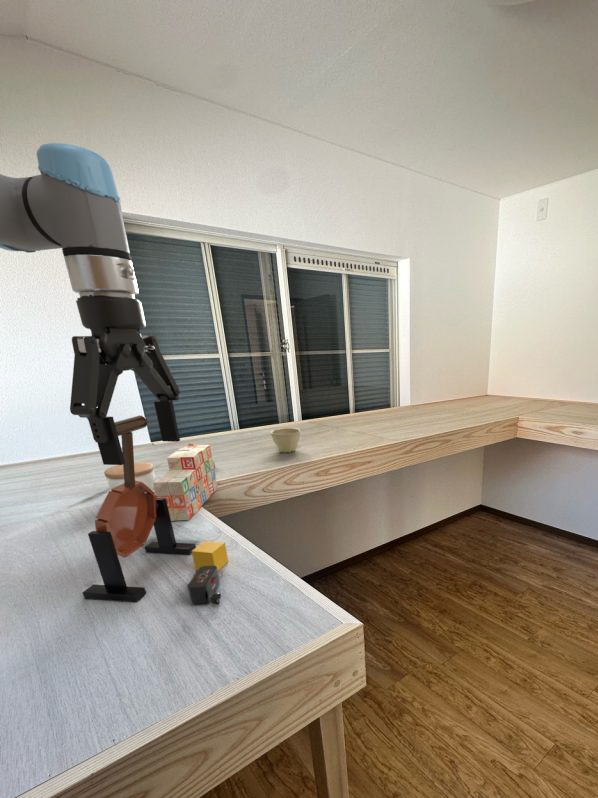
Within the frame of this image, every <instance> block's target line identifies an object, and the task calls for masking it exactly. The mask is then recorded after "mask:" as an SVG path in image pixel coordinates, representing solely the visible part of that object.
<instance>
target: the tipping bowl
mask: <svg viewBox="0 0 598 798" xmlns="http://www.w3.org/2000/svg"><path fill="white" fill-rule="evenodd" d="M114 423H115V426H116V430H117V434H118V437H121V449H122V453H123V457H124V460H125V464H123V469H124V483H123V484H121V485H119V486H117V487H114V488H112V489H111V488H110V490H109V491H108V492H107V494H106V497H105V498H104V500H103V502H102V504H101V506H100V509H99V510H98V512H97V514H96V516H95V520H94V526H95V531H103V532H111V535H112V538H113V542H114V545H115V548H116V552H117V555H118V558H123V559H125V558H128V557H129V556H131V555H132V554H133V553H135V552H136V551H138V550H139V549H140V548H142V547H144V545H145V544H146V543H147V541H148V538H149V536H150V534H151V532H152V529H153V528H154V523H155V521H156V519H155V518H156V509H157V508H158V507H159V504H158V503H156V494H155V491H154V490H153V491H152V490H151V489H150V488H149V487H147V486H146V485H145V484H144V483H143V482H140V481H135V471H134V463H135V455H134V437H133V433H134V432H136V431H139V430H142V429H145V428H147V426H148V420H147V418H146V417H145V416H144V415H139V414H138V415H135V416H131V417H128V418H124V419H121V420H118V421H114Z"/></svg>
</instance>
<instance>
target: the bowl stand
mask: <svg viewBox="0 0 598 798" xmlns="http://www.w3.org/2000/svg"><path fill="white" fill-rule="evenodd" d="M156 503H158V504H159V507H158V508H157V509H156V518H155V519H156V521H155V523H154V525H153V529H154V532H155V536H156V540H157V541H151V542H149V543H148V544H146V545H145V546H143V547H144V551H145V553H150V554H168V555H169V554H170V555H171V554H172V555H187V556H189V555H192V550H193V549H195V548H196V547H197V545H196V543H191V542H189V543H188V542H177V541H176V536H175V532H174V527H173V524H172V521H171V519H170V514H169V510H168V506H167V502H166V498H156ZM87 536H88V539H89V542H90V545H91V548H92V551H93V554H94V557H95V560H96V564H97V567H98V569H99V572H100V575H101V579H102V581H103V584H97V583H95V584H92V585H91V586H89V587H87V588H86V589H85V590H83V591H82V592H81V593H82V596H83V599H85V600H98V601H115V602H129V603H138V602H139V601H140V600H141V599H142V598H143V597H144V596H145V595H147V591H146V588H145V587H144V586H143V587H141V586H128V585H127V582H126V579H125V575H124V571H123V568H122V565H121V562H120V559H119V558H120V557H118V555H117V552H116V548H115V545H114V542H113V538H112V535H111V532H103V531H96V530H92V531H90V532H88V533H87Z"/></svg>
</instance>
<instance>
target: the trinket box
mask: <svg viewBox="0 0 598 798" xmlns="http://www.w3.org/2000/svg"><path fill="white" fill-rule="evenodd" d="M134 471H135V481H140V482H143V483H144V484H145V485H146V486H147V487H149V488H150V489H151V490H152V491H153V492H154V486H153V482H154V481H156V476H155V475H156V474H155V467H154V465H153V464H152V463H150V462H141V461H140V462H139V461H138V462H134ZM103 473H104V477H105V479H106V481H107V484H108V486H109V488H110V490H111V489H112V488H114V487H117V486H119V485H121V484H123V483H124V469H123V465H113V466H111V467H108V468H107V469H105V470H104V472H103Z"/></svg>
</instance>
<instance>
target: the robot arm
mask: <svg viewBox="0 0 598 798" xmlns="http://www.w3.org/2000/svg"><path fill="white" fill-rule="evenodd" d="M36 159H37V164H38V165H37V169H38V171H39V172H40V174H37V175H33V176H26V177H11V176H7V175H4V174H1V173H0V249H3V250H4V251H9V252H24V253H26V254H28V253H29V254H31V253H36V252H40V251H46V250H47V251H48V250H56V249H61V251H62V256H63V258H64V263H65V266H66V270H67V275H68V278H69V283H70V286H71V289H72V291H73V292H74V293H75V294H78V295H79V297H77V298H76V299H77V300H75V302H76V306H77V310H78V313H79V317H80V321H81V325H82V326H83V327H84V328H85V329H88V330H90V333H91V335H74V336H72V337H71V343H72V349H73V353H74V357H73V368H72V369H73V371H72V379H71V380H72V382H71V393H70V405H69V411H70V413H71V414H72V415H73V416H78V417H79V418H83V419H85V418H86V419H87V421H88V424H89V428H90V432H91V434H92V438H93V440H94V442H95V443H97V447H98V450H99V453H100V457H101V460H102V463H103V466H104V465H105V466H117V465H123V464H125V460H124V457H123V453H122V444H121V442H120V438H119V436H118V434H117V430H116V426H115V423H114V422H115V419H114V416H107V415H108V412H109V410H110V405H111V402H112V399H113V395H114V392H115V389H116V385H117V383H118V378H119V376H120V375H122V374H123V373H124V372H125V371H126V372H127V371H132V372H134V373H135V374H136V376H138V378H139V379H140V380H141V381H142V382H143V384H144V385H145V386H146V388H147V389H148V390H149V391H150V392H151V394H152V395H153V397H155V398H156V401H153V404H154V408H155V413H156V417H157V422H158V427H159V431H160V435H161V441H162V442H168V443H169V442H170V443H171V442H174V443H175V442H176V443H177V442H180V441H181V438H180V433H179V428H178V423H177V419H176V411H175V406H174V401H176V402H177V401H179V399H180V393H181V391H180V388H179V386H178V384H177V382H176V379H175V378H174V376H173V374H172V372H171V370H170V368H169V366H168V364H167V362H166V360H165V358H164V356H163V354H162V352H161V350H160V346H159V342H158V339H157V338H158V337H156V335H142V334H141V330H143V329H145V328H146V326H147V324H146V319H145V314H144V309H143V305H142V302H141V301H140V300H139V299H138V298H136V297H135V296H138V294H139V288H138V283H137V278H136V275H135V270H134V267H133V259H132V256H131V252H130V247H129V242H128V236H127V231H126V227H125V221H124V216H123V211H122V205H121V202H122V201H121V197H120V196H119V192H118V189H117V185H116V182H115V178H114V174H113V170H112V167H111V166H110V164H109V163H108V161H107V160H106V158H104V157H103V156H102V155H100V154H99V153H97V152H95V151H94V150H93V151H92V150H90V149H88V148H85V147H82V146H79V145H74V144H68V143H61V142H60V143H59V142H48V143H44V144H41V145H40V146H39V148H38V149H37V150H36Z"/></svg>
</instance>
